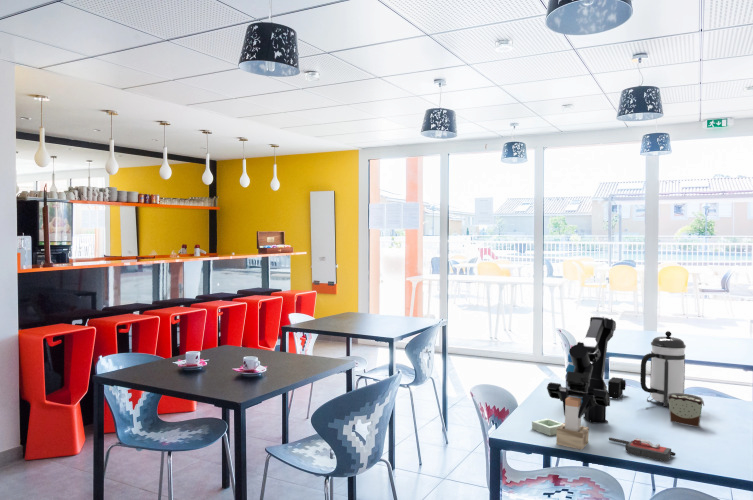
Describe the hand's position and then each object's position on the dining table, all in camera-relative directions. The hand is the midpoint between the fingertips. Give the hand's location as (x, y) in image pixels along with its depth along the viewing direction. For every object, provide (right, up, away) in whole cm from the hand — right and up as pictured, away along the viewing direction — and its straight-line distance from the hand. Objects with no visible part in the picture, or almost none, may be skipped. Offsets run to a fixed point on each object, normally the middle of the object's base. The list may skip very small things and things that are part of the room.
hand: (571, 416), depth 183 cm
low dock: (-3, -9, +14) cm, 17 cm away
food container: (+51, -10, +27) cm, 59 cm away
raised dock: (+1, -9, +1) cm, 9 cm away
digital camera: (+41, -10, +64) cm, 77 cm away
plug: (+1, -6, +1) cm, 6 cm away
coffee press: (+56, -10, +52) cm, 77 cm away
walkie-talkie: (+19, -10, -5) cm, 22 cm away
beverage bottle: (+19, -9, +50) cm, 55 cm away
